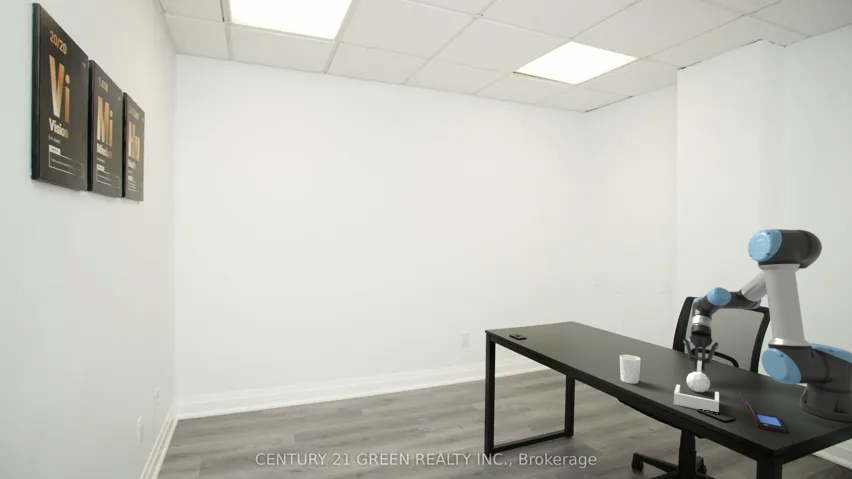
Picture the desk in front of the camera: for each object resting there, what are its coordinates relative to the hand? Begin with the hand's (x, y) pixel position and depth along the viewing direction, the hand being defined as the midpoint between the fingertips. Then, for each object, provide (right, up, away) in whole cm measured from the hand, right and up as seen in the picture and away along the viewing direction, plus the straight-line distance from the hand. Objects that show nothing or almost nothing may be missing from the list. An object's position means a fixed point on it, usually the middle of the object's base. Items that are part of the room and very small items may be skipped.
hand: (699, 376), depth 172 cm
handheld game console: (-1, -5, -34) cm, 34 cm away
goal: (-13, -4, -19) cm, 23 cm away
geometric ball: (-5, -4, -7) cm, 10 cm away
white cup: (-27, -3, +4) cm, 27 cm away
